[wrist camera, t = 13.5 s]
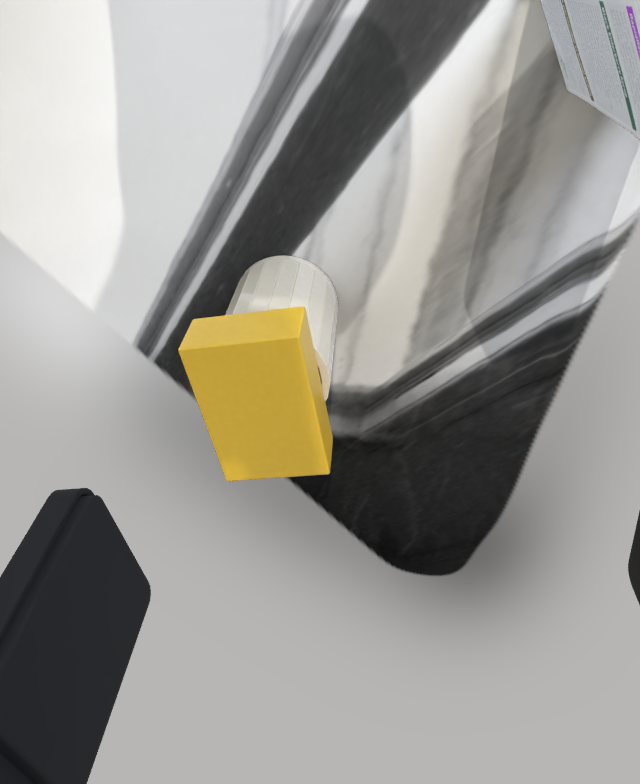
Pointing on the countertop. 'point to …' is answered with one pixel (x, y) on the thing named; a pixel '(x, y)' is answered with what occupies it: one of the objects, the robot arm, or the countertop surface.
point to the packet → (260, 393)
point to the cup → (293, 301)
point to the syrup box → (600, 54)
